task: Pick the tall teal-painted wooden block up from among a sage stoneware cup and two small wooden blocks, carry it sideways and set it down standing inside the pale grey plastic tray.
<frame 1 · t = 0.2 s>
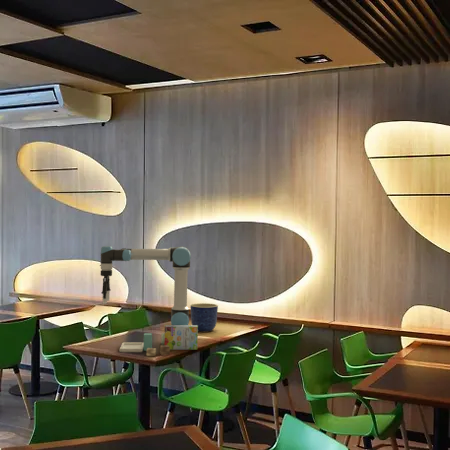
hand: (106, 302, 403), 28 cm above the table, fingers open, 13 cm apart
snack box: (180, 349, 394), on the table
teal block: (147, 349, 389), on the table
walnut cube: (164, 354, 378), on the table
planter: (203, 330, 460), on the table
beech block: (151, 355, 375), on the table
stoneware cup: (165, 344, 407), on the table
tray: (132, 348, 392), on the table
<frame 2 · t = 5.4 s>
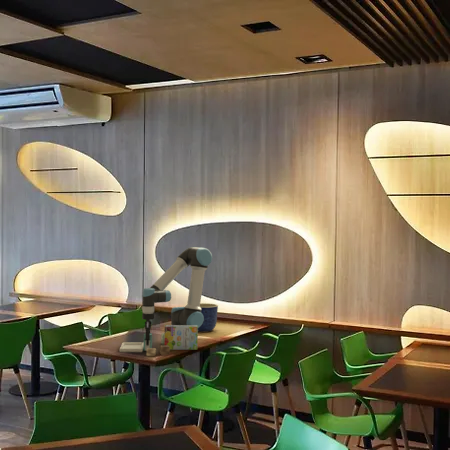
hand: (147, 349, 389), 0 cm above the table, fingers closed on teal block, 5 cm apart
teal block: (147, 349, 389), on the table, touching gripper
everything else where it was.
when the fingers open (3 cm above the table, at t = 11.6 s): teal block drops 2 cm, resting on tray.
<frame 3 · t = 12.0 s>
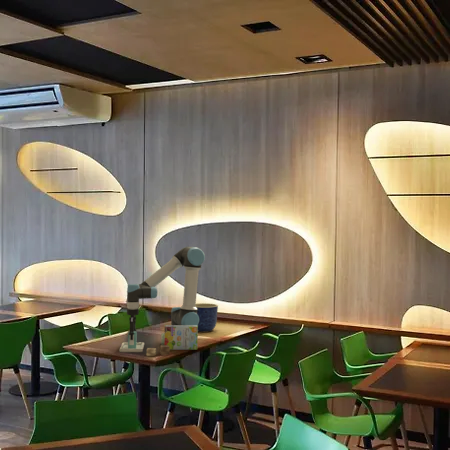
hand: (132, 343, 392), 4 cm above the table, fingers open, 10 cm apart
teal block: (132, 347, 392), point 1 cm above the table, touching tray
everything else where it was.
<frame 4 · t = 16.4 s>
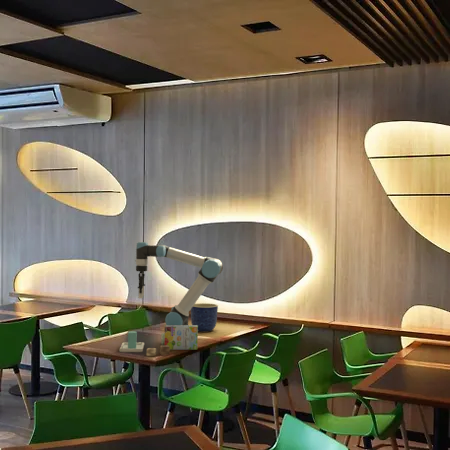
hand: (141, 296, 411), 31 cm above the table, fingers open, 13 cm apart
nothing on the table moved.
at the end: teal block inside the target area on the tray (0.0 cm from its centre), point 0.6 cm above the tray's base; teal block tilted 0°; the gripper is holding nothing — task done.
